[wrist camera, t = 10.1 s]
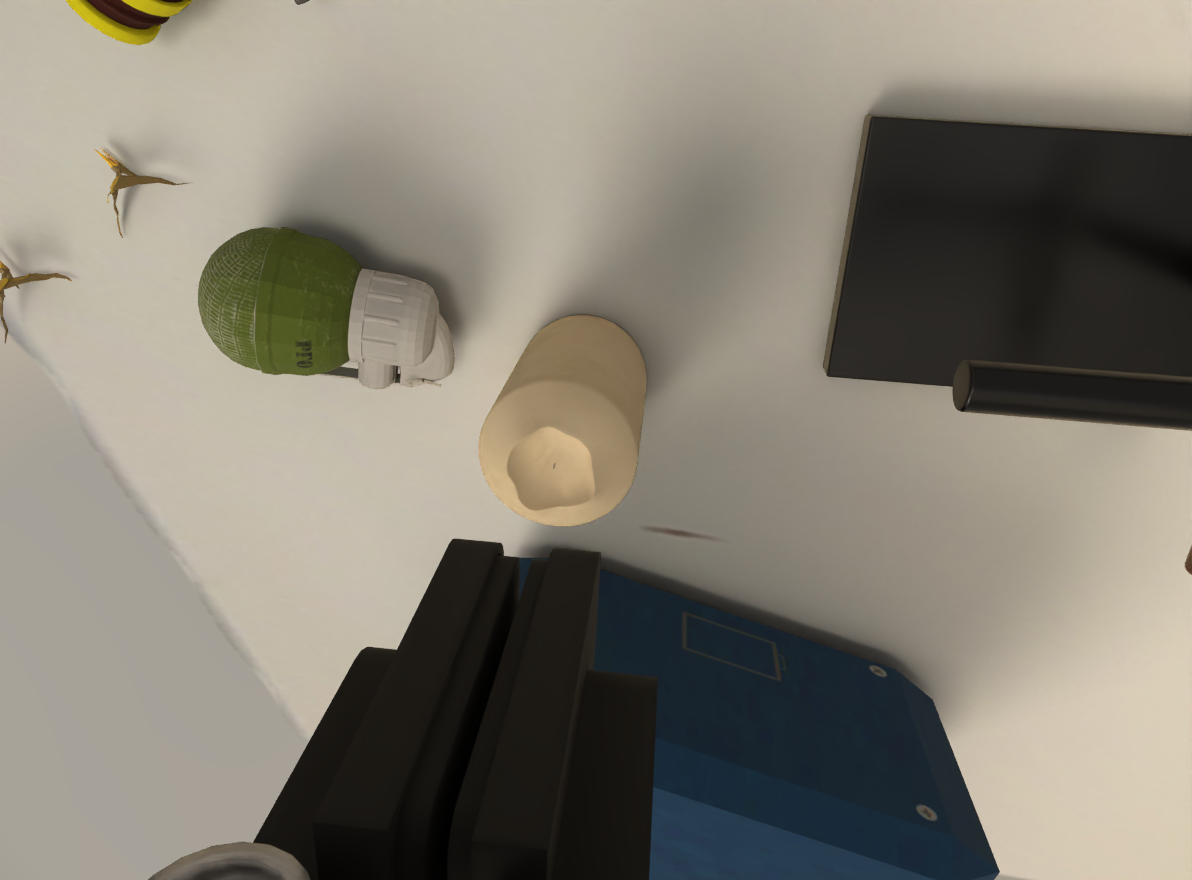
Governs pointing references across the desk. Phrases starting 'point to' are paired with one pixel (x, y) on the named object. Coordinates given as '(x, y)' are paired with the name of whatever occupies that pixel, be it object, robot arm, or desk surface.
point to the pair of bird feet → (118, 183)
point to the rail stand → (1021, 269)
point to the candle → (567, 423)
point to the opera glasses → (128, 17)
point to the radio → (785, 752)
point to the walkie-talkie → (300, 1)
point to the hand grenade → (320, 312)
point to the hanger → (1189, 562)
